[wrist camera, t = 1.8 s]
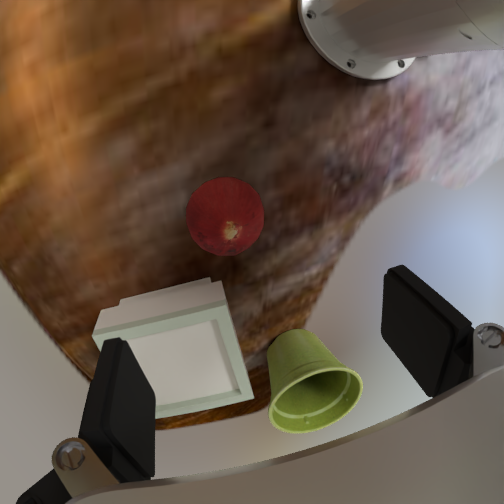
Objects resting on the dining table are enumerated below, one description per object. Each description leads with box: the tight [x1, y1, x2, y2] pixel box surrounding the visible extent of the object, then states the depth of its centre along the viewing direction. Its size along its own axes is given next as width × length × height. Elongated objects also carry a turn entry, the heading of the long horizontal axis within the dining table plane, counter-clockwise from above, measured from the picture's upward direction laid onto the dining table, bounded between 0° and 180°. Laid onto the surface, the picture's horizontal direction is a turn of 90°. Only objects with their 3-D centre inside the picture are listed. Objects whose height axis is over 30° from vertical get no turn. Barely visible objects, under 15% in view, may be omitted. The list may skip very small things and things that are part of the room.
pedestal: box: [92, 277, 254, 419], centre depth 28 cm, size 11×11×7 cm
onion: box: [186, 177, 264, 256], centre depth 24 cm, size 6×6×8 cm
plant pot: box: [267, 329, 363, 433], centre depth 31 cm, size 9×9×9 cm
